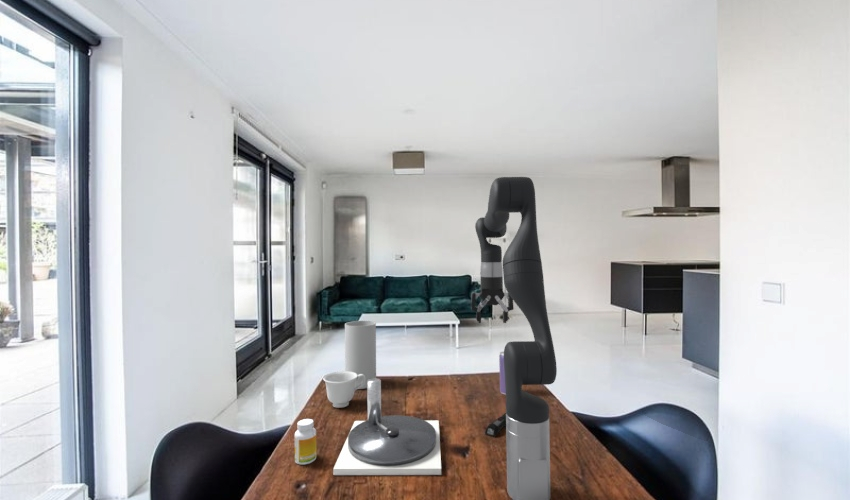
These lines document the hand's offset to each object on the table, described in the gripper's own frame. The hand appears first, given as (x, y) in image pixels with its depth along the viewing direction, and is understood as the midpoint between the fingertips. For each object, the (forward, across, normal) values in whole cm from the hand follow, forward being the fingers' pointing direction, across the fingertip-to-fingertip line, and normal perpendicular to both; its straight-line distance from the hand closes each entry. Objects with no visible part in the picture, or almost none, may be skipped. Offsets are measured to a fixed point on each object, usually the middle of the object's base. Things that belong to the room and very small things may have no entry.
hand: (492, 322), depth 128 cm
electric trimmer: (+30, 0, -13) cm, 33 cm away
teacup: (+30, -52, +4) cm, 60 cm away
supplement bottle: (+29, -54, -32) cm, 69 cm away
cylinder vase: (+30, -50, +24) cm, 63 cm away
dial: (+28, -32, -25) cm, 49 cm away
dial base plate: (+29, -32, -26) cm, 50 cm away
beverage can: (+30, +8, +15) cm, 34 cm away
